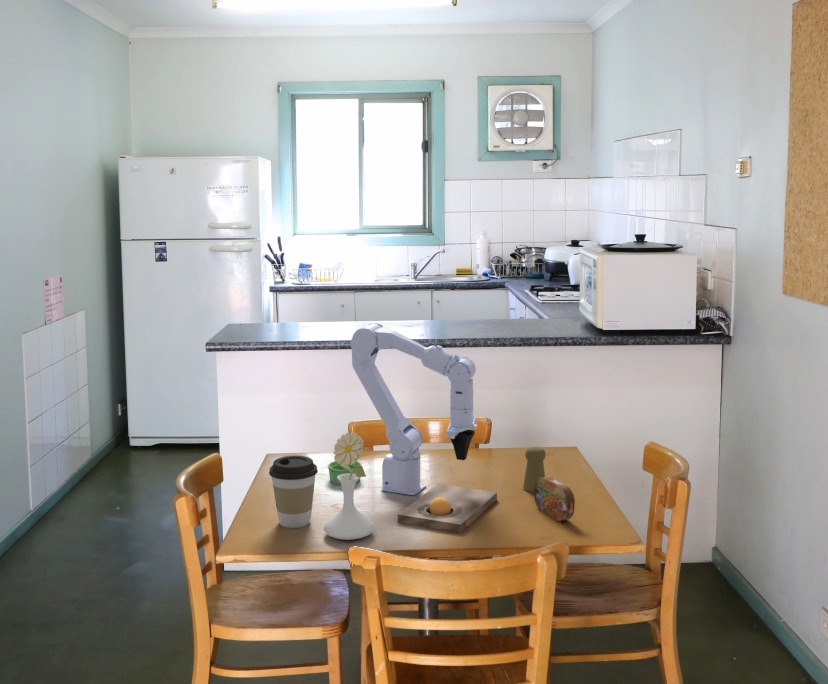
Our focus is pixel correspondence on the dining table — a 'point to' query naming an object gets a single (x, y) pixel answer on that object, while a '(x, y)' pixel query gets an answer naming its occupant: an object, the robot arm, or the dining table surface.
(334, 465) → the ramekin
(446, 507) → the ball
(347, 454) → the flower in vase
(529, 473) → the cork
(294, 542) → the dining table surface
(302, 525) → the coffee cup
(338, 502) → the dining table surface
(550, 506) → the tin
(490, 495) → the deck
